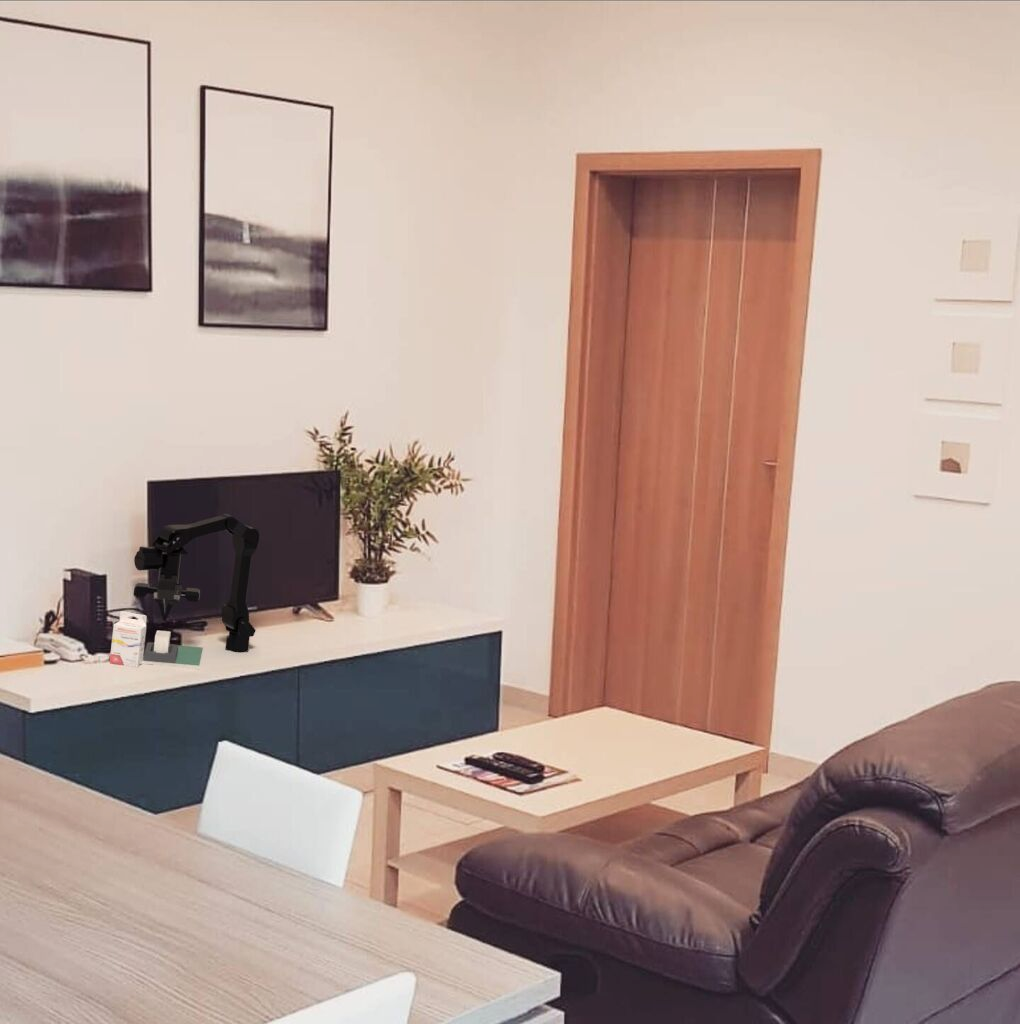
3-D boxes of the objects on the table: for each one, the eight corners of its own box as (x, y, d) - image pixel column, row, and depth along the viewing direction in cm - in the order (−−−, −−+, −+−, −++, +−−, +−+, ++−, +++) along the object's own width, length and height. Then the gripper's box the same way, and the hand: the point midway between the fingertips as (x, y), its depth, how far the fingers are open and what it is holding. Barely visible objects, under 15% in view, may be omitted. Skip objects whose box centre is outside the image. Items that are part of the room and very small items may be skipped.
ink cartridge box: (108, 663, 442) (113, 614, 440) (114, 659, 447) (119, 610, 445) (137, 668, 441) (142, 618, 439) (143, 663, 446) (148, 614, 444)
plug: (168, 654, 456) (170, 631, 455) (166, 660, 449) (168, 637, 448) (154, 653, 455) (157, 630, 454) (152, 659, 448) (154, 636, 447)
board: (202, 650, 468) (203, 639, 467) (198, 668, 449) (200, 657, 448) (149, 646, 465) (150, 634, 465) (143, 664, 446) (144, 652, 445)
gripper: (134, 571, 439) (129, 624, 441) (200, 578, 442) (195, 630, 444) (137, 563, 450) (133, 615, 452) (202, 570, 453) (197, 621, 455)
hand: (164, 620), depth 451 cm, fingers closed
